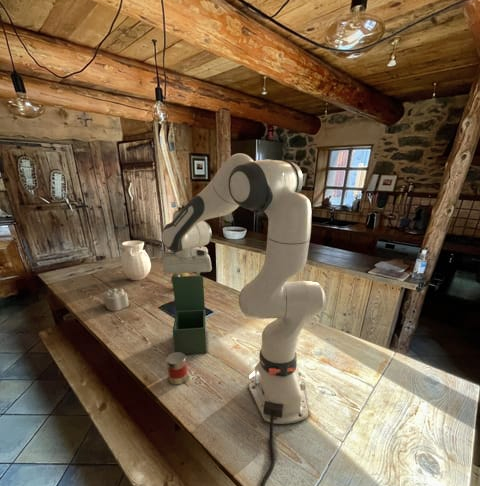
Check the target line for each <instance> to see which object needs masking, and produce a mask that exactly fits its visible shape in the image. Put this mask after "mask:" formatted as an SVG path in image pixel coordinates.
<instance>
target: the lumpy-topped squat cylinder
mask: <svg viewBox="0 0 480 486" xmlns="http://www.w3.org/2000/svg"><path fill="white" fill-rule="evenodd" d="M128 297H129V296H128V293H127V292H126V291H125V290H124V289H123V288H111V289H108V290H106V291H105V292H103V299H104V304H105V307H106V309H107V310H109V311H112V312H118V311H120V310H122V309H126V308H128V307H129V305H130V303H129V298H128Z"/></svg>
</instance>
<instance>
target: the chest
mask: <svg viewBox="0 0 480 486" xmlns="http://www.w3.org/2000/svg"><path fill="white" fill-rule="evenodd" d="M206 319H207V318H206V309H200V310H182V311H176V310H175V315H174V321H173V326H172V337H173V338H172V339H173V346H174V353H175V352H181V353H183V354H184V355H185V356H186V355H195V354H197V355H198V354H199V355H200V354H207V321H206Z"/></svg>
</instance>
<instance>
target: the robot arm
mask: <svg viewBox="0 0 480 486" xmlns="http://www.w3.org/2000/svg"><path fill="white" fill-rule="evenodd" d="M303 184H304V175H303V173H302V169H301V168H300V167H299V165H298V164H297V163H294V162H292V161H290V160H285V159H281V160H277V159H275V160H274V159H267V158H266V159H259V160H254V159H253V158H252V157H250V156H249V155H248V154H245V153H239V152H238V153H235V154H232V155H231V156H230V157H229V158H227V160H225V161H224V163H222V166H220V168H219V169H218V170H217V171H216V172H215V174H214V176H213V178H211V180H210V182H209V183H208V184H207V185H206V186H205V187H204V188H203V189H202V190H201V191H200V192H199V193H197V194H196V195H195V196H193V197H192V198H191V199H190V200H189V201H187V203H186V204H185V205H184V206H183V208H181V209H180V210H176V211H174V212H173V213H172V220H171V222H169V223H167V224H166V225H165V226H164V227H163V229H162V231H161V241H162V244H163V246H164V247H165V248H166V249H168V250H169V251H167V250H164V251H163V252H162V253H160V260H161V262H162V272H163V274H165V275H168V274H169V275H171V274H174V273H176V276H177V277H180V276H179V274H180V273H189V274H191V273H192V274H193V273H196V276H201V273H209V272H211V271H212V269H213V267H212V260H211V257H210V255H209V249H208V248H207V247H206V245H207V246H208V245H209V243H210V242H211V240H212V228H211V226H210V224H209V223H208V222H207V221H206V220H210V219H214V218H219V217H224V216H227V215H229V214H231V213H233V212H234V211H235V210H237V209H238V208H239V207H241V208H243V209H245V210H249V211H251V212H253V213H254V214H256V215H261V214H263V213H265V214H266V217H267V220H268V225H267V236H266V249H265V256H264V261H263V265H262V267H261V268H260V271H259V272H258V274H257V275H256V276H255V277H254V278H253V279H251V281H249V282H248V283H246V284H245V285H244V286H243V287H242V288H241V289H240V292H239V295H238V305H239V309H240V310H241V313H243V315H245V317H247V318H253V319H260V320H265V319H266V320H267V319H269V320H270V319H275V320H273V321H271V322H269V323H268V324H267V325H265V327H264V328H263V330H262V332H261V346H260V350H259V356H258V357H259V359H258V360H259V361H258V363H257V364H256V365H255V366H254V371H253V372H252V373H250V374H249V379H251V378H252V377H253V381H251V382H250V383H249V384H248V389H249V392H250V394H251V396H252V398H253V400H254V402H255V405H256V406H257V408H258V410H259V412H260V414H261V416H262V418H263V420H264V421H265V422H268V423H269V447H270V454H271V460H270V465H269V468H268V470H267V471H266V473H265V475H264V477H263V478H262V480H261V483H260V486H266V484H267V481H268V479H269V477H270V476H271V474H272V472H273V470H274V467H275V464H276V452H275V446H274V437H273V435H274V434H273V433H274V424H275V425H286V424H294V423H298V422H301V421H303V420H305V419H306V418H308V417H309V410H308V405H307V400H306V399H307V398H306V396H305V395H306V394H305V391H306V384H305V382H303V380H302V379H301V378H300V377H302V372H301V371H298V370H299V369H298V363H297V362H298V359H297V346H298V345H297V343H298V339H299V335H300V333H301V332H302V330H303V329H304V327H305V326H306V324H307V323H308V322H310V321H311V320H312V319H313V318H315V317H316V316H318V315H320V314H321V313H322V312H323V310H324V309H325V306H326V301H327V297H326V293H325V290H324V287H322V285H320V283H318V282H314V281H307V280H290V279H291V278H292V277H294V276H296V275H298V274H299V273H301V272H302V271H303V270H304V268H305V267H306V265H307V262H308V255H309V247H310V241H311V233H312V204H311V201H310V199H309V198H308V197H307V196H306V195H304V194H302V193H300V191H301V190H302V187H303Z"/></svg>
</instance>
